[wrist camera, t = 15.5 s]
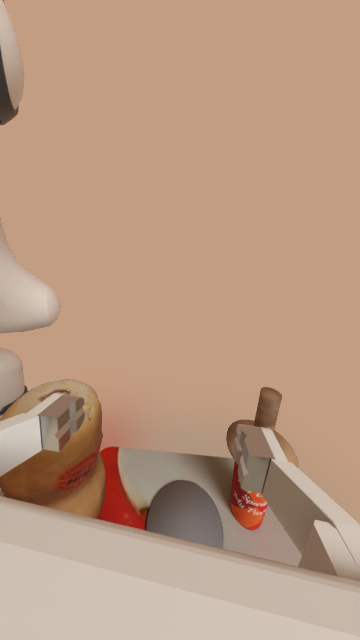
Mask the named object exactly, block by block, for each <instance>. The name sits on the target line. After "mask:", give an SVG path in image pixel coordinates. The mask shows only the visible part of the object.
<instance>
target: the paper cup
mask: <svg viewBox="0 0 360 640" xmlns="http://www.w3.org/2000/svg"><path fill="white" fill-rule="evenodd" d="M238 467H239V465H238V464H237V463H236V462H235V463H234V470H233V480H232V491H231V509H232V512H233V515H234V517H235V518H236V520H237V521H238V522H239V523H240V524H241V525H242V526H243V527H245V528H246V529H249V530H255V529H257V528H259V526H260V525H261V523H262V520H263V518H264V515H265V512H266V509H267V507H268V504H267V502H266V501H265V499H264V498H263V496H262V494H260V493H256V492H251V491H247V490H243V489H241V486H240V481H239V476H238Z"/></svg>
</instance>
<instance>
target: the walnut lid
mask: <svg viewBox="0 0 360 640" xmlns="http://www.w3.org/2000/svg"><path fill="white" fill-rule="evenodd" d="M281 399H282V395H281V394H280V393H279V392H278V391H276V390H274V389H272V388H268V387H263V388H261V392H260V397H259V402H258V407H257V412H256V417H255V421H252V420H239V421H236V422H234V423H232V424H231V425H230V427H229V428H228V431H227V446H228V449H229V451H230V453H231V455H232V456H233V458H234V459H235V457H234V440H235V438H236V437H237V436H238V435H237V431H236V430H237V426H238V424H243V425H249V426H255V427H263V428H270V429H271V430H272V431H273V433H274V435H275V437H276V439H277V441H278V443H279V445H280V447H281V449H282V450H283V452H284V454H285V456H286V458H287V460H288V462H290V463H293V464H294V465H295V466H296V467H297V468H298V459H297V456H296V454H295V452H294V450H293V449H292V447H291V446H290V444H289V443H288V442H287V441H286V440H285V439H284V438H283V437H282V436H281V435H280V434H279V433H277V432H276V431H275V430H274V429H275V425H276V420H277V416H278V411H279V407H280V403H281Z"/></svg>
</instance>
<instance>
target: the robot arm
mask: <svg viewBox="0 0 360 640" xmlns="http://www.w3.org/2000/svg"><path fill="white" fill-rule="evenodd" d="M23 87H24V71H23V62H22V57H21V52H20V47H19V44H18V40H17V37H16V33H15V30H14V27H13V25H12V22H11V19H10V16H9V14H8V11H7V9H6V7H5V4H4V0H0V125H4V124H6V123H7V122H9V121H10V120H11V119H13V118H14V117H15V116H16V115H17V114H18V105H19V103H20V100H21V97H22V93H23ZM60 307H61V305H60V300H59V297H58V295H57V293H56V292H55V291H54V289H53V288H52V287H51V286H49V285H48V284H47V283H45V282H43V281H41V280H39V279H38V278H36V277H35V276H34V275H32V274H31V273H30V272H29V271H28V270H27V269H25V268H24V267H23V265H22V264H21V263H20V262H19V261H18V260H17V258H16V257H15V256H14V254H13V252H12V251H11V249H10V247H9V245H8V243H7V240H6V237H5V234H4V230H3V227H2V223H1V220H0V333H10V332H24V331H28V330H34V329H39V328H43V327H48V326H50V325H52V324H53V322H55V320H56V319H57V317H58V316H59V313H60ZM26 392H28V391H27V387H26V386H25V385H24V376H23V367H22V360H21V359H20V357H19V356H18V355H17V354H15V353H13V352H12V351H10V350H7V349H3V348H0V419H1V418H2V416H3V414H4V413H5V412H6V411H7V409H8V408H9V407H10V406H11V405H12V404H13V403H14V402H15V401H16V400H17V399H18V398H20V397H21V396H22V395H23V394H25V393H26ZM84 404H85V402H84V398H82V397H78V396H73V395H68V394H62V393H54V394H52V395H51V396H49V397H48V398H47V399H45V400H44V401H43V402H41V403H40V404H38V405H37V406H36V407H34V408H33V409H32V410H30V411H29V412H28V413H26V414H25V413H22V414H19V415H16V416H14V417H11V418H8V419H5V420H3V421H0V476H2V475H4V474H5V473H7V472H8V471H10V470H11V469H13V468H15V467H16V466H18V465H19V464H21V463H23V462H24V461H26V460H27V459H29V458H30V457H32V456H34V455H35V454H37V453H38V452H40V451H42V449H45V450H51V451H57V452H60V451H61V449H62V448H63V447H64V446H65V445H66V443H67V442H68V441H69V440H70V435H71V434H73V433H75V432H77V430H78V429H79V428H80V427H81V425H82V423H83V421H84V417H85V411H84V409H83V408H82V407H83V405H84ZM236 431H237V435H238V436H237V437H236V438H235V440H234V457H235V462H236V463H237V464H238V465H239V467H238V476H239V481H240V486H241V489H243V490H247V491H251V492H256V493H260V494H262V496H263V498H264V499H265V501H266V502H267V504H268V505H269V507H270V508H271V509H272V511H273V512H274V514H275V515H276V517H277V518H278V520H279V521H280V523H281V524H282V526H283V527H284V529H285V530H286V532H287V533H288V535H289V536H290V538H291V539H292V541H293V542H294V544H295V545H296V547H297V548H298V550H299V551H300V553H301V554H302V557H301V560H300V563H299V566H298V567H297V566H292V565H288V564H284V563H280V562H276V561H271V560H267V559H263V558H259V557H254V556H250V555H246V554H242V553H238V552H233V551H229V550H225V549H221V548H217V547H212V546H208V545H204V544H200V543H196V542H191V541H187V540H183V539H179V538H175V537H170V536H166V535H162V534H158V533H153V532H149V531H145V530H141V529H137V528H132V527H128V526H124V525H120V524H116V523H111V522H107V521H103V520H99V519H94V518H90V517H86V516H82V515H78V514H73V513H69V512H65V511H61V510H57V509H52V508H48V507H44V506H40V505H36V504H31V503H27V502H23V501H19V500H15V499H10V498H6V497H2V496H0V640H360V525H359V524H358V523H357V522H356V521H355V520H354V519H353V518H352V517H351V516H349V515H348V514H347V513H346V512H345V511H344V510H343V509H342V508H341V507H340V506H339V505H337V504H336V503H335V502H334V501H333V500H332V499H331V498H330V497H329V496H328V495H327V494H325V493H324V492H323V491H322V490H321V489H320V488H319V487H318V486H317V485H316V484H315V483H313V482H312V481H311V480H310V479H309V478H308V477H307V476H306V475H305V474H303V472H301V471H300V470H299V469H298V468H297V467H296V466H295V465H294V464H293V463H290V462H288V460H287V458H286V456H285V454H284V452H283V450H282V449H281V447H280V445H279V443H278V441H277V439H276V437H275V435H274V433H273V431H272V430H271V429H270V428H263V427H255V426H249V425H243V424H238V426H237V430H236Z"/></svg>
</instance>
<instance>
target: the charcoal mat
mask: <svg viewBox="0 0 360 640" xmlns="http://www.w3.org/2000/svg"><path fill="white" fill-rule="evenodd" d="M146 531H149V532H153V533H158V534H162V535H166V536H170V537H175V538H179V539H183V540H187V541H191V542H196V543H200V544H204V545H208V546H212V547H217V548H221V549H223V528H222V522H221V518H220V515H219V512H218V510H217V507H216V505H215V504H214V502H213V500H212V499H211V497H210V496H209V495H208V493H207V492H206V491H205V490H204V489H202V488H201V487H200V486H198V485H197V484H195V483H192V482H189V481H175V482H172V483H170V484H168V485H166V486H165V487H164V488H163V489H161V490H160V492H159V493H158V494H157V495H156V497H155V499H154V500H153V502H152V505H151V507H150V510H149V514H148V519H147V527H146Z"/></svg>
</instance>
